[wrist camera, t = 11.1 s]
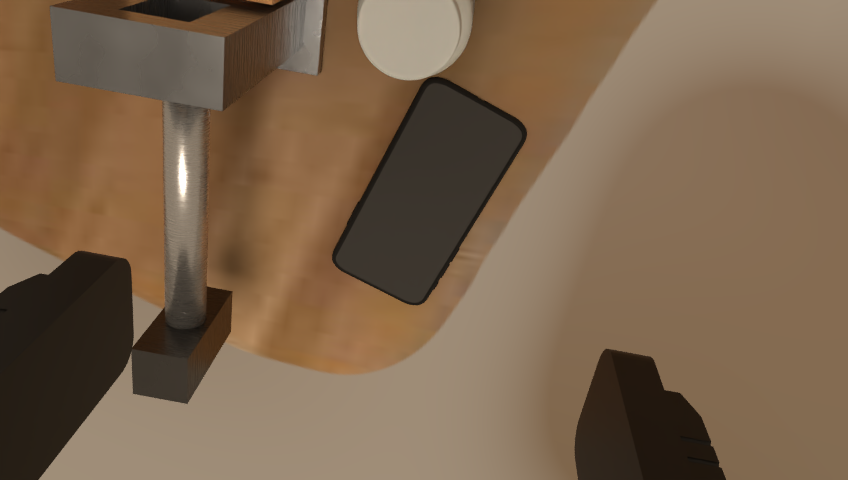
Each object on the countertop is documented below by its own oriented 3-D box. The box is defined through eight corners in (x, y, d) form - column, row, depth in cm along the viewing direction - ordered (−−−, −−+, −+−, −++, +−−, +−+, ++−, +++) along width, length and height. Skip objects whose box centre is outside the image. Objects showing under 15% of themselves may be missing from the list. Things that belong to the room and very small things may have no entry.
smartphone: (535, 129, 42) (420, 312, 49) (534, 125, 43) (421, 305, 49) (428, 70, 41) (325, 265, 48) (429, 67, 42) (327, 259, 48)
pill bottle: (364, 29, 41) (328, 66, 32) (395, -71, 38) (366, -61, 30) (454, 64, 41) (443, 111, 33) (491, -32, 39) (490, -11, 30)
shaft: (184, 34, 36) (120, 64, 30) (242, 45, 36) (189, 76, 30) (184, 323, 44) (133, 393, 38) (230, 331, 44) (187, 403, 38)
